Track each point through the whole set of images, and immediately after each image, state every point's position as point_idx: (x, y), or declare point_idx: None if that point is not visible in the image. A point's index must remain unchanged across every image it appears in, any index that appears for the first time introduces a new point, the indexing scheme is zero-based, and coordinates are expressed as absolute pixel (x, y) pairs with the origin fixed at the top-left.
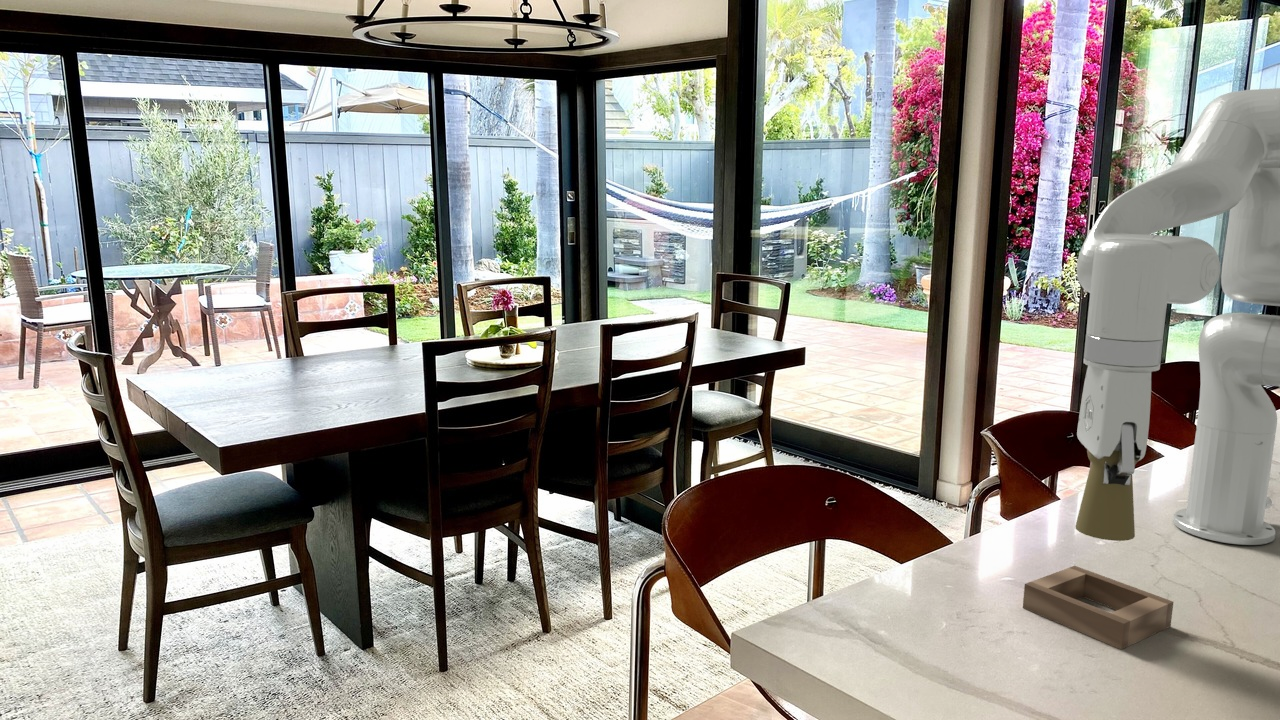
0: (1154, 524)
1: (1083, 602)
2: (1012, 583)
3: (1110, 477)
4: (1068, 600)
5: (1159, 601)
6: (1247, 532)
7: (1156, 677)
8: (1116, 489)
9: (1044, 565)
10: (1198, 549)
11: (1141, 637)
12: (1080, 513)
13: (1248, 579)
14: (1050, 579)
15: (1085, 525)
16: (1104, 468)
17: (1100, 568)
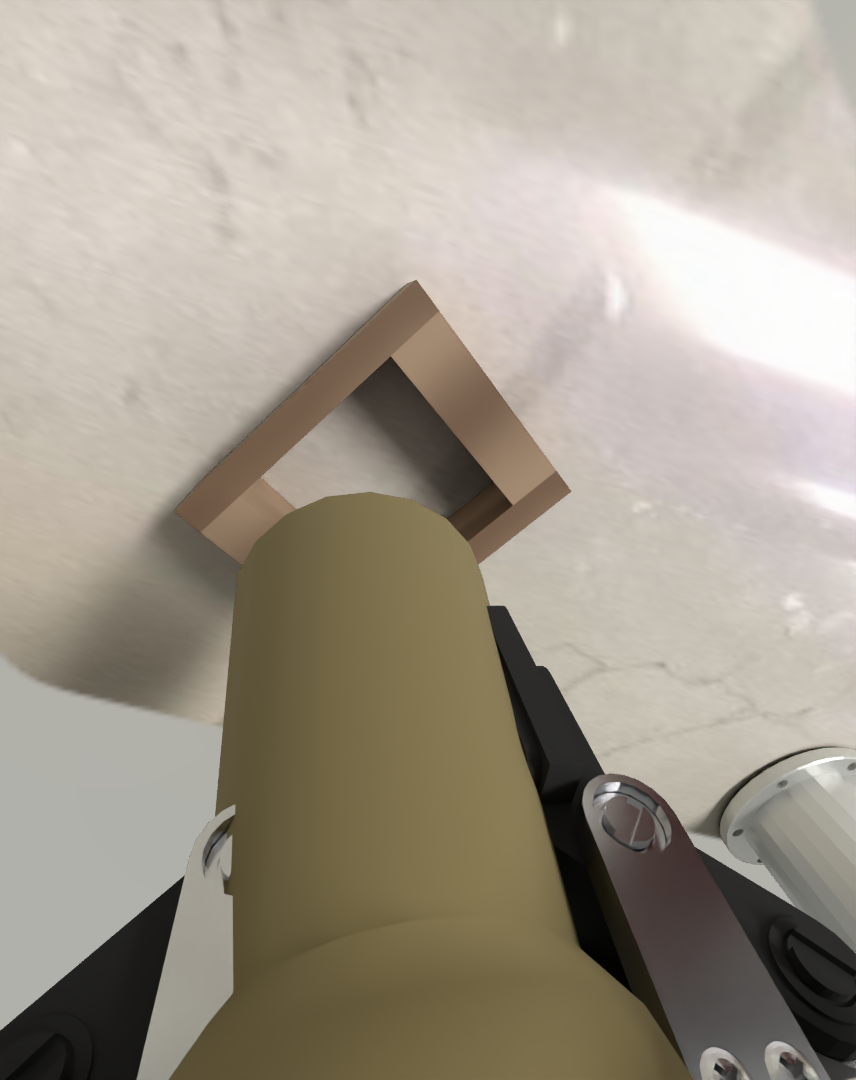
0: (849, 717)
1: (299, 440)
2: (579, 304)
3: (141, 944)
4: (304, 397)
5: None
6: (749, 835)
7: (67, 521)
8: None
9: (689, 437)
10: (722, 751)
11: None
12: (366, 542)
13: None
14: (464, 386)
15: (296, 533)
16: (165, 1017)
17: (657, 565)
